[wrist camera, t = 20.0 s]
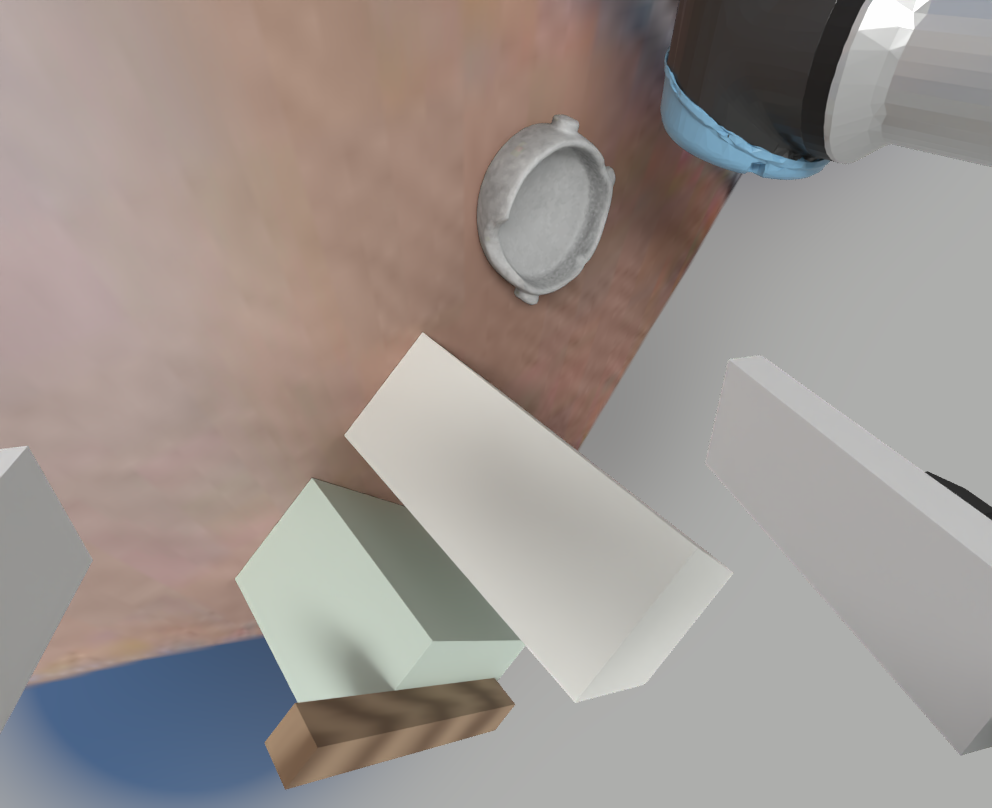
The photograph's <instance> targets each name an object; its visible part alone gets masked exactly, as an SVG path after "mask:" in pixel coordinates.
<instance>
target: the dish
mask: <svg viewBox="0 0 992 808" xmlns="http://www.w3.org/2000/svg"><path fill="white" fill-rule="evenodd" d="M578 128H579V122H578V121H576V120H574V119H573V118H570V117H568V116H566V115H554V117H553V119H552V123H551V124H549V123H540V124H534V125H531V126H529V127H526V128H524V129H522V130H521V131H519V132H518V133H516V134H515V135H514V136H513V137H511V138H510V139H509V140H508V141H507V142H506V143H505V144H504V145H503V147H502V148H501V149H500V150H499V151H498V153H497V154H496V156H495V157H494V159H493V160H492V162H491V163H490V165H489V167H488V169H487V171H486V174H485V177H484V179H483V182H482V185H481V188H480V193H479V197H478V206H477V225H478V233H479V238H480V242H481V246H482V249H483V251H484V254H485V256H486V258H487V260H488V261H489V263H490V264H491V265H492V267H493V268H494V269H495V270H496V271H497V272H498V273H499V274H500V275H501V276H502V277H503V278H504V279H505V280H506V281H508V282H509V283H511V284H512V285H513V286H515V287H516V288H515V291H514V293H515V295H516V297H518V298H519V299H521V300H522V301H523V302H525V303H527V304H530V305H533V304H537V302H538V298H539V295H543V294H548V293H551V292H554V291H556V290H558V289H560V288H562V287H563V286H565V285H566V284H567V283H568V282H570V281H572V280H573V279H574V278H575V277H576V276H577V275H578V274H579V273H580V272H581V271H582V269H583V268H584V265H585V264H586V263H587V262H588V261H589V260H590V258H591V257H592V255H593V253H594V252H595V250H596V247H597V245H598V243H599V240H600V238H601V235H602V232H603V229H604V226H605V223H606V219H607V216H608V212H609V208H610V204H611V199H612V191H613V185H614V183H615V173H614V171H613V169H612V168H611V167H609V166H605V164H604V158H603V156H602V155H601V153H600V152H599V150H598V149H597V148H596V147H595V146H594V145H593V144H592V143H591V142H590V141H588V140H587V139H586V138H585V137H583V136H582V135H581V134H579V133H578V132H577V131H578Z"/></svg>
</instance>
